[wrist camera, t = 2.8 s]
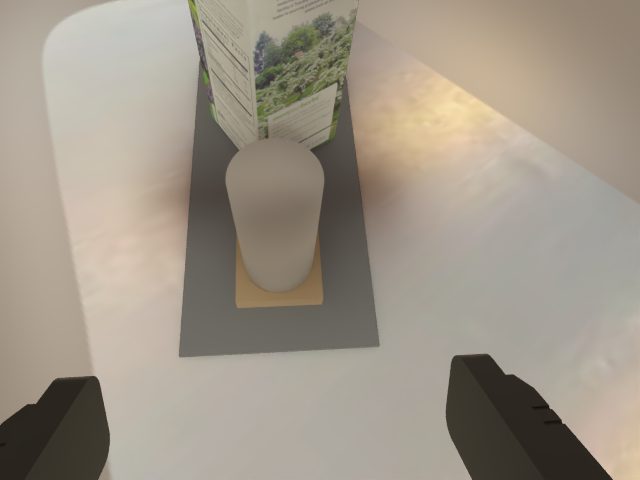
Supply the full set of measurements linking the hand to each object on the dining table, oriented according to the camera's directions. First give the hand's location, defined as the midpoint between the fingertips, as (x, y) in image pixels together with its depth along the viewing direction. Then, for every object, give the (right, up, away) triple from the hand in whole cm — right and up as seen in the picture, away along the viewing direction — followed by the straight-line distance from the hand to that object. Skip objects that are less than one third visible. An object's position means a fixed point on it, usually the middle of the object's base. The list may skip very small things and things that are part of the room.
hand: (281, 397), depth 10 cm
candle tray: (-2, +7, +16) cm, 18 cm away
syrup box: (-2, +10, +18) cm, 21 cm away
